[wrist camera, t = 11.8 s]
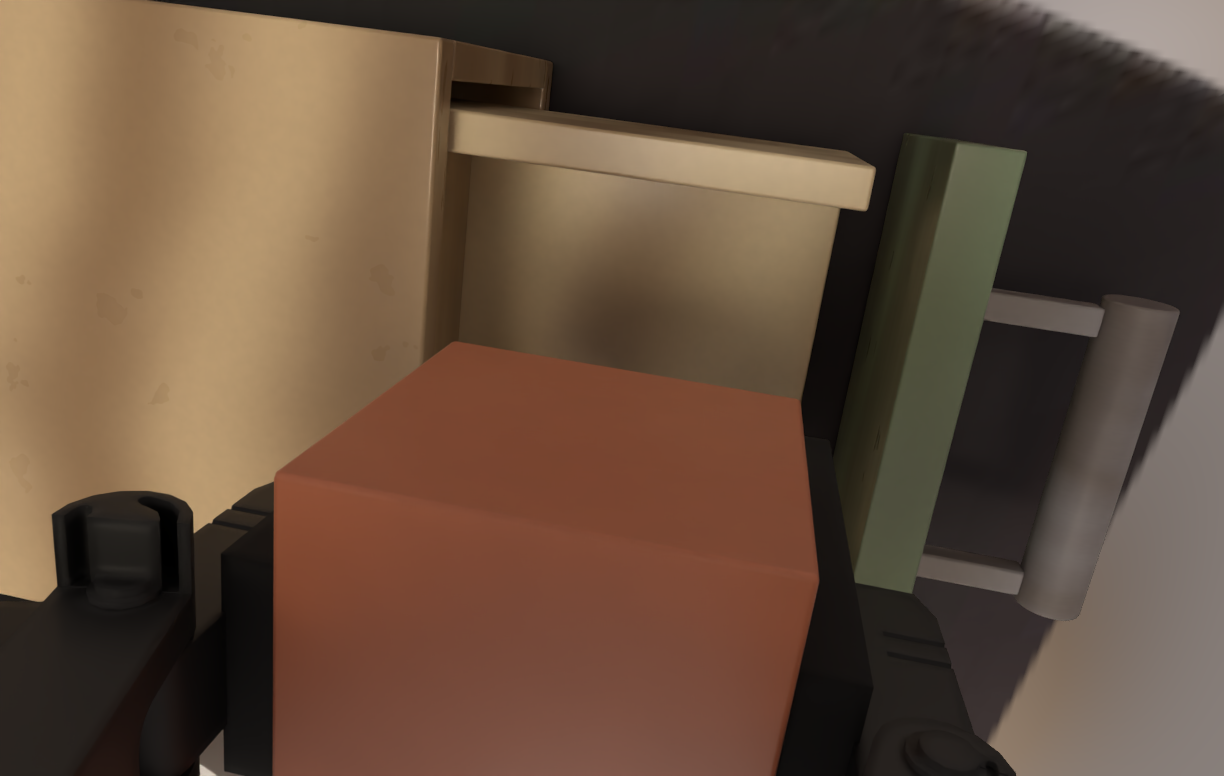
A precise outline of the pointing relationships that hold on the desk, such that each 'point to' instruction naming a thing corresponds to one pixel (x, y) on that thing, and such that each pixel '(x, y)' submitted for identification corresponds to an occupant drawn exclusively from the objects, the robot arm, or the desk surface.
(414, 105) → the cabinet
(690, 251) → the drawer
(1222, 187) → the desk surface
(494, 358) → the block
